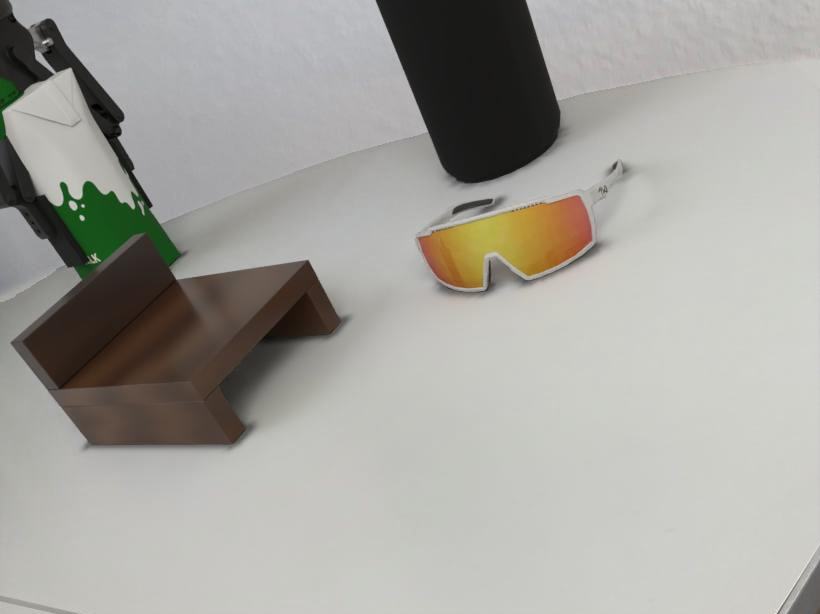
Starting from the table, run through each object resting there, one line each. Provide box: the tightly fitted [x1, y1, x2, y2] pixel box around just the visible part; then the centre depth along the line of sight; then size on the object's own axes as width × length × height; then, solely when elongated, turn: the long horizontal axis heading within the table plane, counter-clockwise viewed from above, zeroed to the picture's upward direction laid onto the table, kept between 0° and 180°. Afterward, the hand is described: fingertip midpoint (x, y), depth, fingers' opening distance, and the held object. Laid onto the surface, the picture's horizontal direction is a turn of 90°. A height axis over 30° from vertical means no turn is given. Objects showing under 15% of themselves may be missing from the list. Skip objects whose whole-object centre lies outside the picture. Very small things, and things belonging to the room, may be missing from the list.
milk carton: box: [0, 68, 182, 281], centre depth 92 cm, size 9×9×20 cm
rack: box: [10, 233, 342, 445], centre depth 71 cm, size 16×14×9 cm
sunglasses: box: [414, 158, 624, 293], centre depth 69 cm, size 14×15×5 cm
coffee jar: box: [374, 0, 562, 184], centre depth 77 cm, size 11×11×18 cm
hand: (111, 236), depth 96 cm, fingers closed on milk carton, 9 cm apart
